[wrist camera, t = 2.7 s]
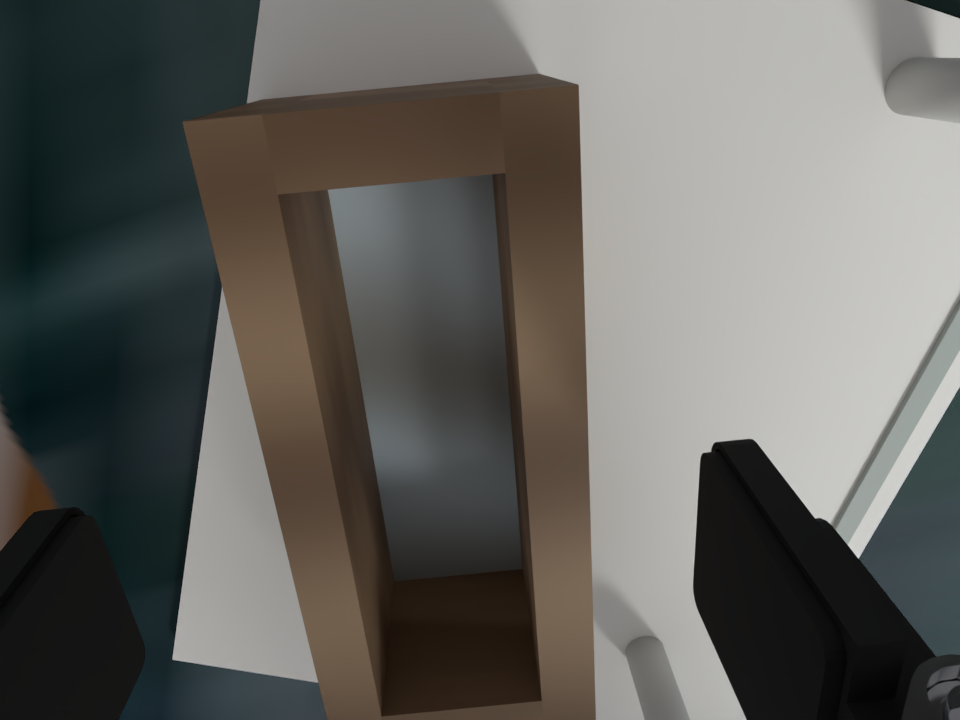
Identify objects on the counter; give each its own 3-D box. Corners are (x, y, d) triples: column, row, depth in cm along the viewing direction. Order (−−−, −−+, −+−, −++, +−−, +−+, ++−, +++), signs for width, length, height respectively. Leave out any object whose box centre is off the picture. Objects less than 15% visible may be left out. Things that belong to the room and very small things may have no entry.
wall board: (739, 734, 25) (783, 840, 21) (179, 644, 22) (131, 749, 19) (1117, 77, 16) (1285, 85, 13) (294, -197, 14) (246, -274, 10)
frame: (563, 583, 21) (595, 733, 16) (360, 603, 21) (336, 759, 16) (539, 73, 15) (578, 84, 11) (261, 99, 15) (182, 122, 11)
